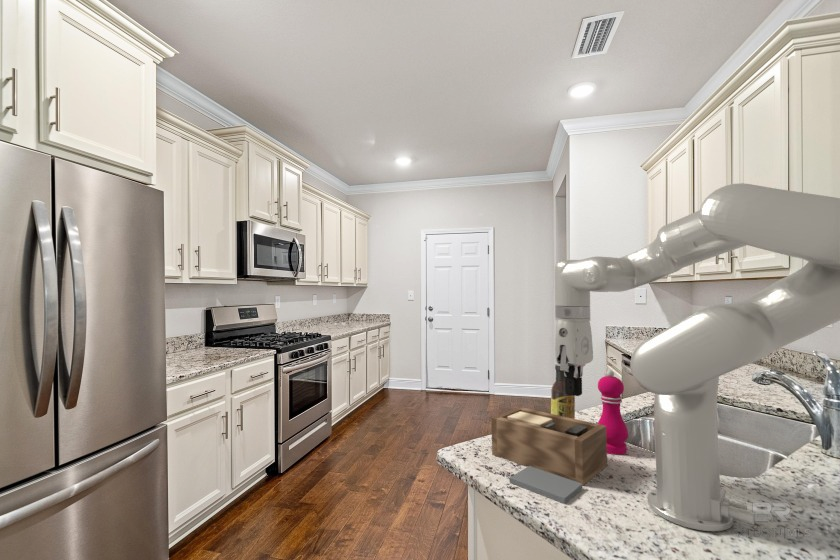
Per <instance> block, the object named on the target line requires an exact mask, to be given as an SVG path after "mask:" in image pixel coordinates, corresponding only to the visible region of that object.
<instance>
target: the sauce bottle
mask: <svg viewBox="0 0 840 560" xmlns="http://www.w3.org/2000/svg"><path fill="white" fill-rule="evenodd" d="M554 369H555V381H554V383H553V384H552V387H551V389H550V391H551V393H550V394H551V397H550V414H555V415H559V416H564V417H568V418H573V419H576V418H575V417H576V416H575V415H576V414H575V412H576V411H575V410H576V406H575V405H576V404H575V403H576V402H575V401H576V399H575V398H576V396H574V395H569V394H566V393H565V376H564V371H561V370H560V364H558V363H556V364H554Z"/></svg>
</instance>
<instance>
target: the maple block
mask: <svg viewBox="0 0 840 560" xmlns="http://www.w3.org/2000/svg"><path fill="white" fill-rule="evenodd" d="M507 419H510V420H514V421H518V422H522V423H526V424H530V425H534V426H538V427H542V428H544V426H545V425H547V424H549V423H551V422H553V419H551V418H547V417H542V416H538V415H534V414H529V413H525V412H521V411H520V412H517V413H515V414H512V415H510V416H507Z"/></svg>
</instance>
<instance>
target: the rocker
mask: <svg viewBox="0 0 840 560" xmlns="http://www.w3.org/2000/svg"><path fill="white" fill-rule="evenodd" d="M544 428H546V429H549V430H553V431H557V432H560V431H558V430H556V423H553V422H551V423H549V424H547V425H545V426H544ZM586 432H588V427H586V426H581V425H575V426H573V427H571V428H569V429H568V430H566V431H565V434H569V435H573V436H577V437H579V436H581V435H583V434H584V433H586Z"/></svg>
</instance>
